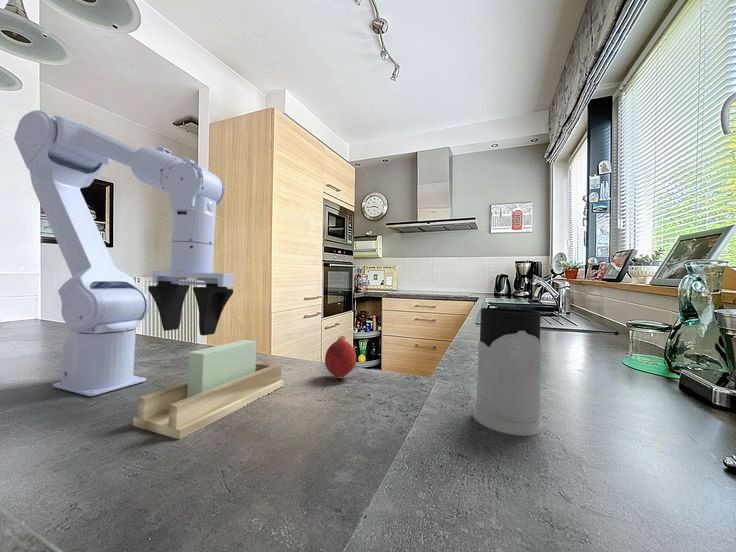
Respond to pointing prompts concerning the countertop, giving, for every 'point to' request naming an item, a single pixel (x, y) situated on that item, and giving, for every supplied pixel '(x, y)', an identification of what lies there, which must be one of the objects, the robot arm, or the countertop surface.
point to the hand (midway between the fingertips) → (188, 332)
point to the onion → (340, 358)
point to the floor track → (203, 402)
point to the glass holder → (509, 371)
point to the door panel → (220, 365)
